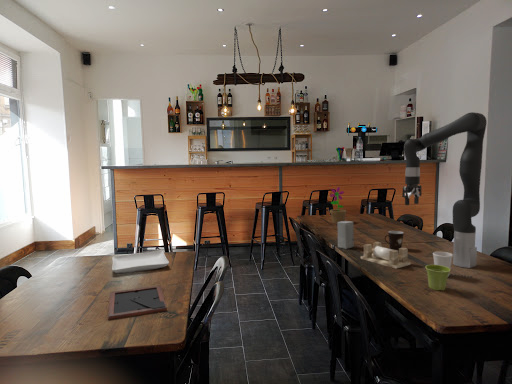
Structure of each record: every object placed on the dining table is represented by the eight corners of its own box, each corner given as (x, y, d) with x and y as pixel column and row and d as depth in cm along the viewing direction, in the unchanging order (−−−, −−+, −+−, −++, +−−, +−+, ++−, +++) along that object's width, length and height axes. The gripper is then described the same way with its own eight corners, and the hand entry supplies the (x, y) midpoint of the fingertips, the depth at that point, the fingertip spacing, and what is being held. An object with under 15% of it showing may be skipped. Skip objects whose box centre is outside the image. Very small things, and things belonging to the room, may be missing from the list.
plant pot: (452, 287, 149) (453, 267, 149) (446, 294, 142) (447, 273, 142) (428, 282, 156) (429, 263, 155) (421, 288, 149) (422, 268, 148)
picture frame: (167, 312, 131) (160, 289, 155) (166, 306, 131) (160, 284, 154) (108, 321, 124) (110, 296, 148) (108, 315, 124) (110, 291, 148)
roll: (404, 262, 182) (404, 250, 181) (397, 264, 178) (397, 252, 178) (373, 254, 197) (373, 243, 197) (366, 256, 194) (366, 245, 194)
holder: (410, 264, 182) (411, 249, 181) (396, 268, 176) (396, 252, 175) (375, 255, 200) (375, 241, 200) (360, 258, 194) (360, 244, 193)
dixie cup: (452, 279, 160) (453, 257, 159) (431, 276, 164) (432, 254, 163) (452, 273, 167) (453, 252, 166) (432, 271, 171) (433, 250, 170)
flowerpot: (343, 220, 310) (344, 186, 307) (349, 223, 295) (349, 187, 293) (327, 221, 309) (327, 186, 306) (332, 224, 294) (332, 188, 292)
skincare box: (346, 249, 214) (346, 223, 213) (336, 247, 220) (336, 221, 218) (354, 246, 219) (354, 221, 218) (344, 244, 225) (345, 220, 223)
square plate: (163, 256, 206) (162, 249, 206) (169, 269, 181) (169, 262, 180) (112, 262, 196) (112, 255, 196) (112, 277, 171) (111, 269, 171)
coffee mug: (400, 247, 218) (401, 230, 217) (405, 250, 209) (405, 233, 208) (381, 246, 219) (381, 230, 218) (384, 250, 210) (385, 233, 209)
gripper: (411, 176, 191) (410, 206, 192) (426, 175, 199) (425, 204, 200) (398, 175, 197) (398, 205, 199) (414, 174, 205) (413, 202, 206)
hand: (411, 204), depth 199 cm, fingers open, 8 cm apart
